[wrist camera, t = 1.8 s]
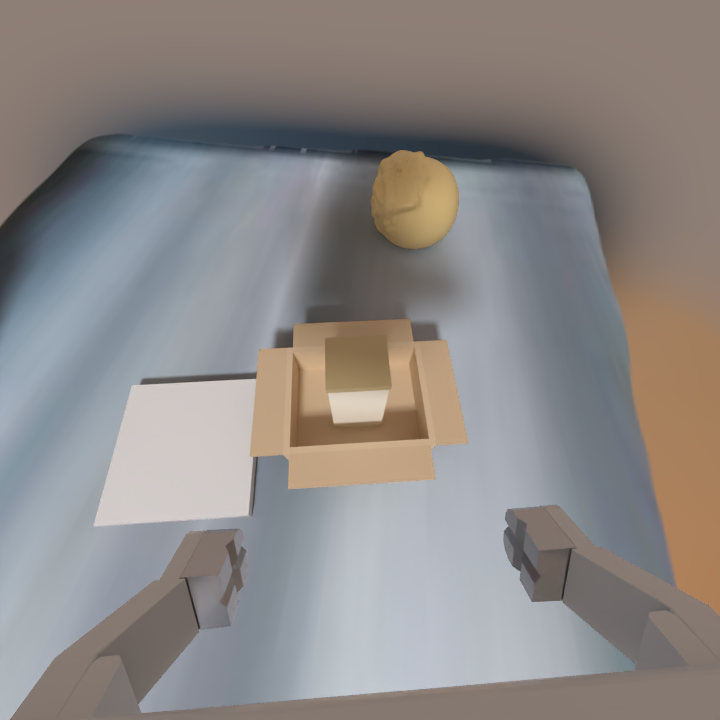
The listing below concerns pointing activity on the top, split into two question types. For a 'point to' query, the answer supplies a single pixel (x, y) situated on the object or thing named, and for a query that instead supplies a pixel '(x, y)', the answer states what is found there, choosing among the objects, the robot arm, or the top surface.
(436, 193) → the sculpture
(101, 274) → the top surface
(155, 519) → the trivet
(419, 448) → the carton
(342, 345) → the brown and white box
